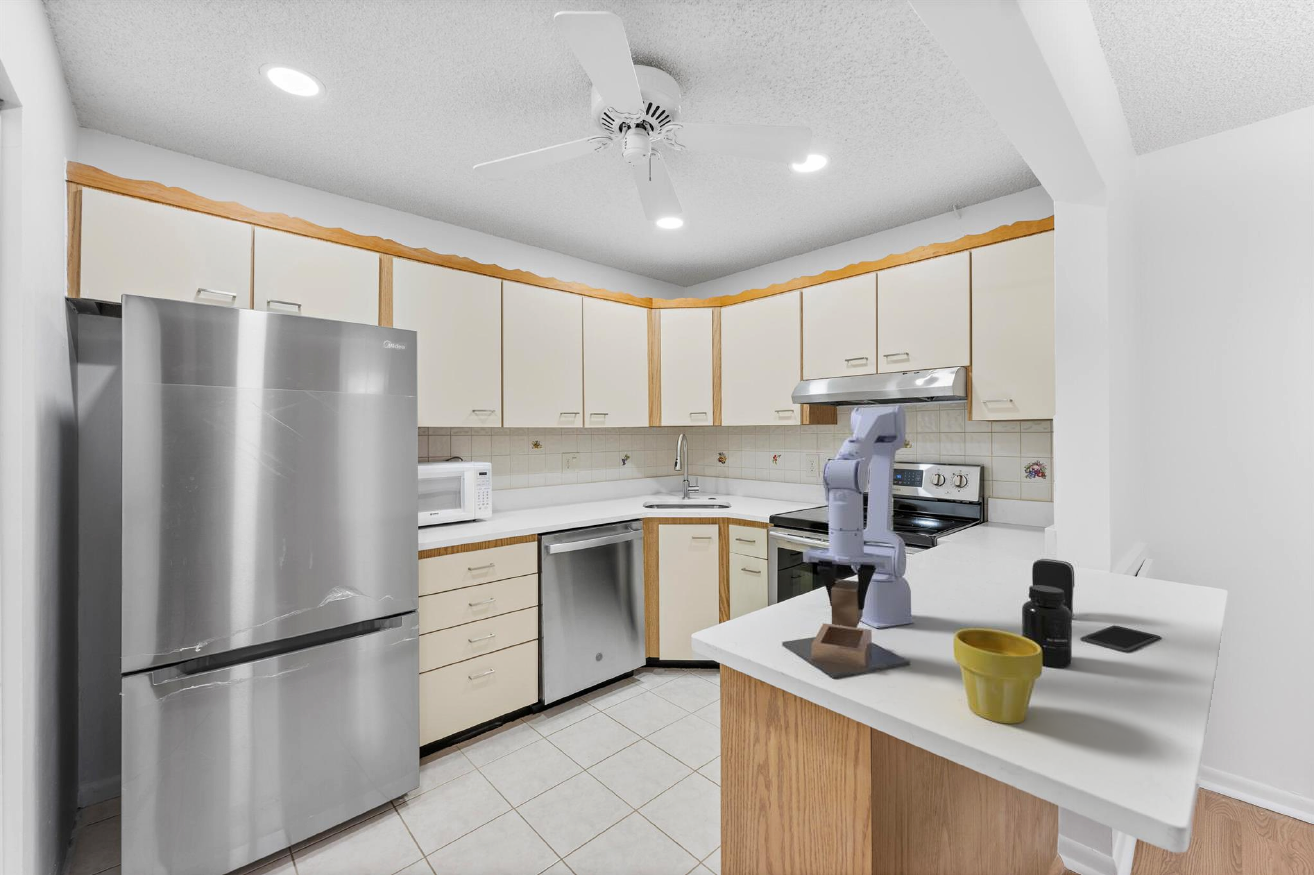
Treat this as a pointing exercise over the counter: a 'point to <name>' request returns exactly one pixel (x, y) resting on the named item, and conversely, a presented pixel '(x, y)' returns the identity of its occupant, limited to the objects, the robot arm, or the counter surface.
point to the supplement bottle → (1048, 624)
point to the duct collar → (844, 651)
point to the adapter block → (845, 603)
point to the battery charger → (1055, 577)
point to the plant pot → (997, 672)
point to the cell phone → (1120, 639)
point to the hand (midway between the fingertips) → (847, 606)
